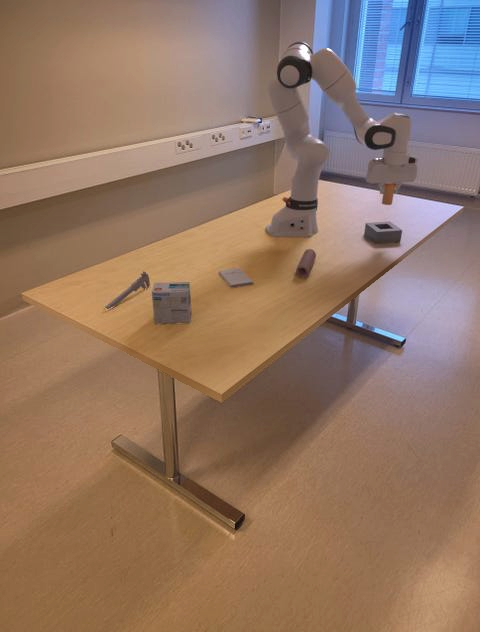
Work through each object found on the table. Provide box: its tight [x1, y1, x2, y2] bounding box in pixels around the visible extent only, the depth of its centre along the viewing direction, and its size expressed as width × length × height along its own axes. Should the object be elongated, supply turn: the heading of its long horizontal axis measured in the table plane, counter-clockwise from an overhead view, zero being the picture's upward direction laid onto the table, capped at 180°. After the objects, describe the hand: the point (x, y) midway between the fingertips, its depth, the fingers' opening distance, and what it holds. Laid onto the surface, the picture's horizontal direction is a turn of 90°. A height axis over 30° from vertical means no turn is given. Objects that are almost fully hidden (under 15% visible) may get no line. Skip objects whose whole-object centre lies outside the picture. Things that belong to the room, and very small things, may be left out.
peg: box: [381, 183, 396, 206], centre depth 202 cm, size 4×4×8 cm
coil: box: [295, 248, 317, 280], centre depth 182 cm, size 5×5×18 cm
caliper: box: [104, 271, 151, 309], centre depth 160 cm, size 21×1×6 cm, turn 148°
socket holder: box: [364, 221, 403, 245], centre depth 209 cm, size 11×11×5 cm
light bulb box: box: [151, 281, 192, 324], centre depth 147 cm, size 11×7×11 cm, turn 92°
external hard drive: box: [218, 267, 254, 288], centre depth 175 cm, size 2×8×12 cm
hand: (388, 193), depth 201 cm, fingers closed on peg, 4 cm apart
